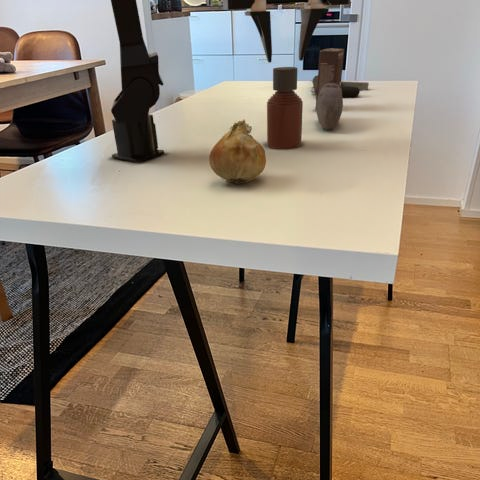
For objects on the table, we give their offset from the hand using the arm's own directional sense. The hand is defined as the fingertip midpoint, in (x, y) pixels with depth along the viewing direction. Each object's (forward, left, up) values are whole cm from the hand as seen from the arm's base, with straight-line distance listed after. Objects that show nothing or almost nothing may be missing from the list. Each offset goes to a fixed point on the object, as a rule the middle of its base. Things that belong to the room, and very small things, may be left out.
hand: (285, 61), depth 77 cm
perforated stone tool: (+17, 0, -13) cm, 22 cm away
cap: (0, 0, -4) cm, 4 cm away
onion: (-21, -5, -13) cm, 25 cm away
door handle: (+56, +16, -13) cm, 60 cm away
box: (+33, +8, -13) cm, 36 cm away
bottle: (0, 0, -13) cm, 13 cm away
